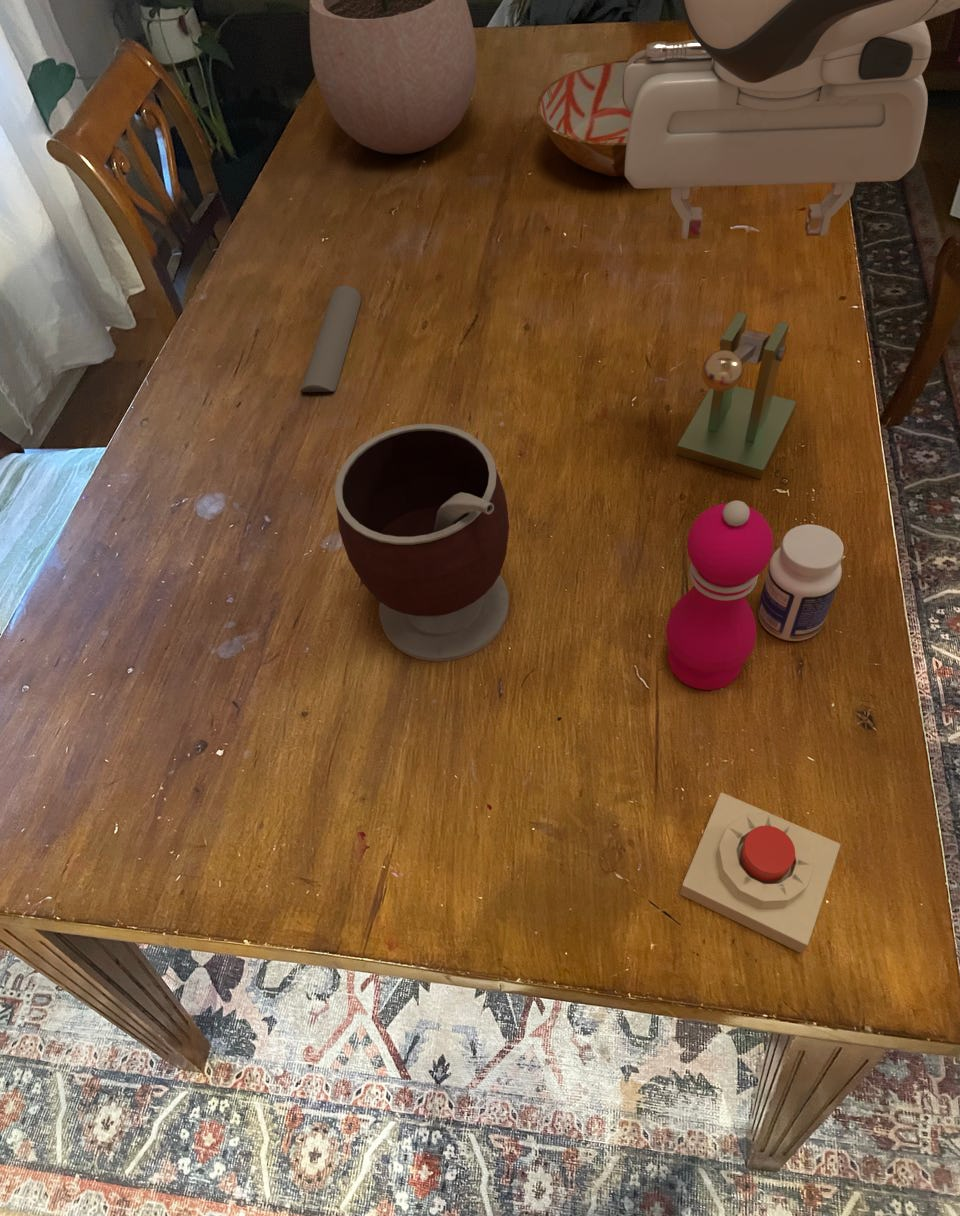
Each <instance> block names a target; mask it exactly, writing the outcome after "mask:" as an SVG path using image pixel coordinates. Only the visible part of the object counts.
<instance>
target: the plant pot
mask: <svg viewBox="0 0 960 1216" xmlns="http://www.w3.org/2000/svg"><path fill="white" fill-rule="evenodd" d="M475 35H476V34H475V29H474V25H473V21H472V16H471V13H470V8H469V5H468V1H467V0H309V42H310V53H311V60H312V66H313V71H314V75H315V78H316V82H317V85H318V87H319V90H320V92H321V94H322V97H323V99H324V102H325V104H326V106H327V108H328V110H329V111H330V113H331V116H332V118H334V120H335V121H336V123H337V124H338V126H339V127H340V128H341V129H342V130H343V131H344V132H345V133H346V134H347V135H348V136H349V137H351V139H353V140H355V142H357V143H359V144H360V145H361V146H363V147H366V148H368V149H371V150H373V151H376V152H379V153H383V154H388V155H389V154H390V155H407V154H414V153H419V152H422V151H425V150H427V149H429V148H432V147H434V146H435V145H437V144H439V143H440V142H442V141H443V140H445V139H446V138H447V137H448V136H449V135H450V134H451V133H452V132H453V131H454V130H455V129H456V128H457V127H458V125H460V123H461V121H462V120H463V118H464V116H465V114H466V112H467V110H468V108H469V105H470V103H471V100H472V97H473V94H474V90H475V83H476V77H477V45H476V36H475Z"/></svg>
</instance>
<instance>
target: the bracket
mask: <svg viewBox="0 0 960 1216" xmlns="http://www.w3.org/2000/svg"><path fill="white" fill-rule="evenodd" d="M747 318H748V314H747V313H744V312H740V311H737V312H736V313H735V315H734V316H733V319H732V320H731V322H730V324H729V326H728V327H727V329H726V330H725V332H723V333H722V335H721V337H720V340H719V351H720V350H729V351H732V352H734V351H735V350H737V348H738V344H739V340H740V337H741V334H742V333H744V332H745V331H746V324H747ZM789 327H790V323H788V322H785V321H781V320H779V321H778V322H777V324H776V325H775V327H774V330H773V331H772V333H771V334H770V338H769V340H768V342H767V344H766V346H765V348H764V351H763V355H762V360H761V361H760V365H759V369H758V375H757V380H756V384H755V389H750V388H747V387H742V386H740V385H739V386H738V385H736V386H735V387H733V388H732V389H730V390H727V391H715V390H713V389H711V388H709V390H708V391H707V393H706V394H705V396H704V397H703V399H702V401H701V403H700V405H699V406H698V408H697V410H696V411H695V413H694V415H693V417H692V419H691V421H690V422H689V424H688V426H687V427H686V429H685V431H684V432H683V434H682V436H681V438H680V440H679V441H678V443H677V444H676V451H675V455H676V456H679V457H682V458H685V459H689V460H692V461H696V462H699V463H703V464H706V465H709V466H713V467H717V468H720V469H723V470H727V471H730V472H733V473H736V474H740V475H743V476H747V477H749V478H750V477H751V478H754V479H757V480H762V478H763V476H764V475H765V472H766V470H767V468H768V466H769V464H770V462H771V460H772V458H773V456H774V454H775V452H776V449H777V447H778V446H779V444H780V442H781V440H782V438H783V436H784V433H785V431H786V429H787V428H788V426H789V423H790V421H791V420H792V417H793V415H794V413H795V410H796V406H797V404H798V403H797V402H798V401H797V400H793V399H789V398H785V397H781V396H778V395H774V392H775V387H776V383H777V379H778V375H779V370H780V365H781V362H783V360H784V358H785V355H786V351H787V346H785V345H786V340H787V335H788V331H789Z"/></svg>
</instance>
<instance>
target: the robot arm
mask: <svg viewBox="0 0 960 1216" xmlns="http://www.w3.org/2000/svg"><path fill="white" fill-rule="evenodd" d="M679 2H680V6H681V11H682V14H683V17H684V19H685V22H686V25H687V27H688V29H689V30H690V32H691V34H692V35H693V37H694V39H687V40H683V41H674V42H667V41H654V42H649V43H648V44H646V48H644V49H641V50H640V51H637V52H636V53H634V54H633V55H632V56H631V57H630V58H629V59H628V60H629V61H628V63H627V64H626V66H625V69H624V73H623V91H622V97H623V102H624V104H625V107H626V108H627V110H628V111H629V112H630V113H631V115H630V121H629V128H628V136H627V145H626V155H625V179H626V180H627V181H628V182H629V183H630V185H631V187H633V188H634V189H639V190H642V189H669V188H670V202H671V203H672V205H673V207H674V209H675V211H676V212H677V214H678V216H679V218H680V220H681V227H680V228H681V229H680V230H681V231H680V239H681V240H687V239H688V240H692V239H693V240H694V239H701V236H702V225H703V207H701V206H692V204H691V203H690V201H689V199H690V194H691V188H703V187H705V188H706V187H710V188H711V187H738V186H739V187H742V186H771V185H772V186H773V185H803V184H805V185H807V184H830V185H831V189H830V190H829V192H828V193H827V194H826V195H825V197H824V198H823V199H822V201H820V203H812V204H811V203H809V204H808V207H807V217H806V218H805V221H804V222H805V223H804V231H805V236H806V237H827V235H828V232H829V227H830V224H831V219H832V217H834V216H835V215H836V213H838V211H839V210H840V209H841V208H842V207H844V205H846V203H847V202H848V200H849V199H851V197H852V196H853V195H854V191H855V188H856V183H870V182H871V183H872V182H874V183H875V182H896V181H899V180H900V179H902V178H903V177H904V176H905V175H907V173H909V171H910V170H912V169H913V168H914V166H915V164H916V162H917V159H918V155H919V151H920V147H921V144H922V139H923V135H924V130H925V124H926V118H927V113H928V112H927V111H928V101H929V99H928V96H929V95H928V89H927V87H926V84H925V80H924V77H923V73H924V72H925V70H926V69H927V66H928V64H929V61H930V58H931V55H932V42H931V35H930V31H929V29H928V26H927V24H926V22H925V21H928V20H929V21H930V20H931V19H934V18H937V17H939V16H943V15H945V14H949V13H951V12H953V11H955V10H958V9H960V0H679ZM642 58H645V59H642Z"/></svg>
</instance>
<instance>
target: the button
mask: <svg viewBox="0 0 960 1216" xmlns="http://www.w3.org/2000/svg"><path fill="white" fill-rule="evenodd" d="M794 859H795V848H794V845H793V842H792V841H791V839H790V838H789V836H788V835H787V834H786V833H784V832H783V831H782V830H780V829H778V828H776V827H772V826H759V827H756V828H754V829H753V830H751V831H750V832H749V833H748V835H747V836H746V838H745V841H744V843H743V845H742V848H741V860H742V863H743V865H744V867H745V869H746V870H747V871H748V872H749V873H750V874H751V875H752V876H754V877H755V878H757V879H760V880H763V881H776V880H779V879H781V878H782V877H784V876H785V875H786V874H787V872H788V870H789V869H790V867H791V865H792V864H793V862H794Z"/></svg>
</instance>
